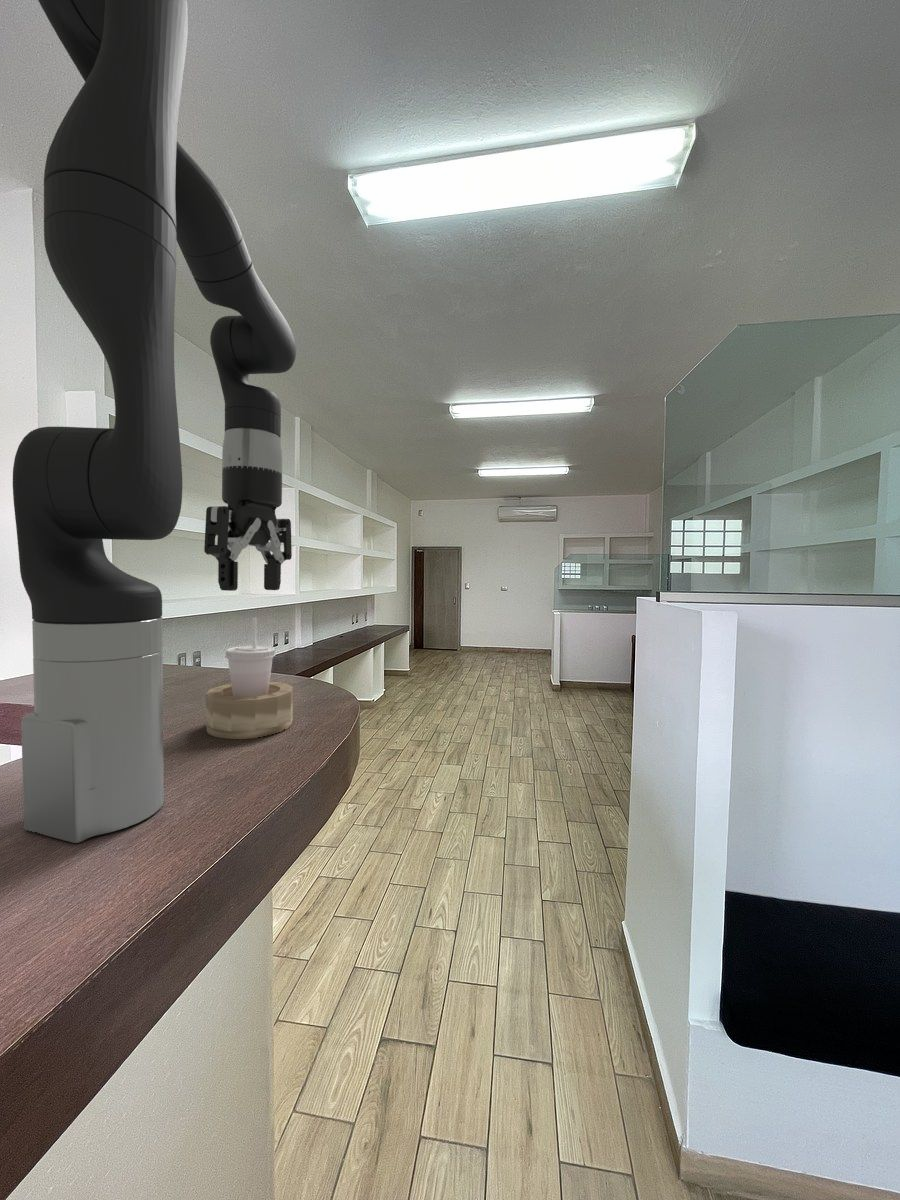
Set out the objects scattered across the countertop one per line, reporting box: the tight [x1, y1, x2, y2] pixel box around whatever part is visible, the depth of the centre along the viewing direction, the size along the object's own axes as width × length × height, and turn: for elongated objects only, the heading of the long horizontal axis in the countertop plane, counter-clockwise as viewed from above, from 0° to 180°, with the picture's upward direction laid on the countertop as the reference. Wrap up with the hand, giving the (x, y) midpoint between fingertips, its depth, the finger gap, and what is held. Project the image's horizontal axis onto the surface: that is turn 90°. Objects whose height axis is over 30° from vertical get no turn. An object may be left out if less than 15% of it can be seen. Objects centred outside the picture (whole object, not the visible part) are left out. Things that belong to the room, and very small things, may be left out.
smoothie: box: [225, 616, 276, 697], centre depth 70 cm, size 6×6×14 cm
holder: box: [205, 681, 294, 740], centre depth 70 cm, size 11×11×5 cm
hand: (251, 590), depth 69 cm, fingers open, 8 cm apart
